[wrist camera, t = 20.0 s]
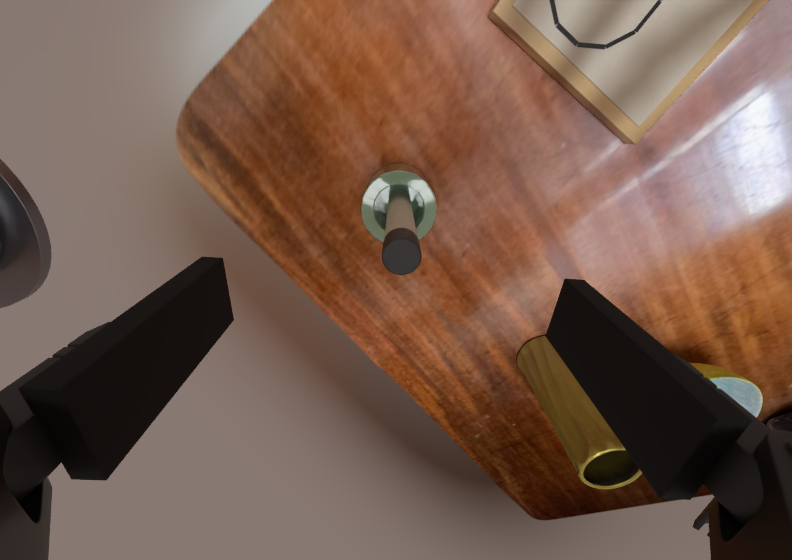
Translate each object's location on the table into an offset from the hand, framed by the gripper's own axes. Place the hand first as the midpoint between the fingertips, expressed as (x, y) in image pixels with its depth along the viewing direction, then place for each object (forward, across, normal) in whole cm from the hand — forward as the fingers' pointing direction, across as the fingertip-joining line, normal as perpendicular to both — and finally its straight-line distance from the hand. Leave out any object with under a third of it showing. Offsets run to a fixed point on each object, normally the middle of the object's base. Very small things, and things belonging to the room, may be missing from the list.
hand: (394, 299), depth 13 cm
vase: (+20, +19, -18) cm, 33 cm away
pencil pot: (+20, 0, 0) cm, 20 cm away
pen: (+19, +1, 0) cm, 19 cm away
